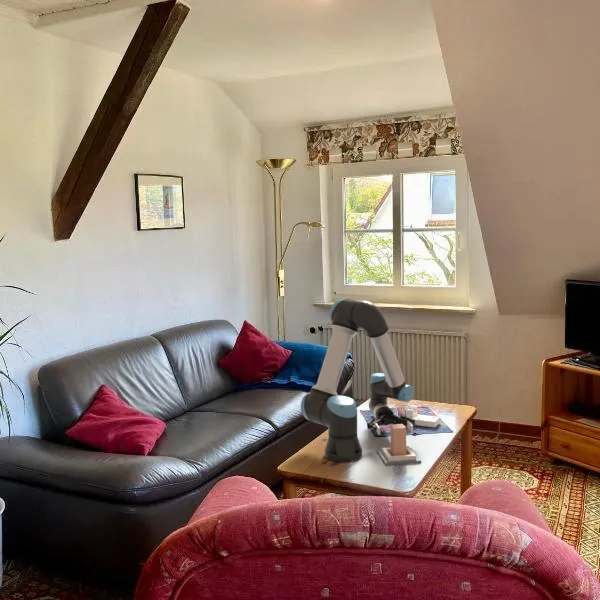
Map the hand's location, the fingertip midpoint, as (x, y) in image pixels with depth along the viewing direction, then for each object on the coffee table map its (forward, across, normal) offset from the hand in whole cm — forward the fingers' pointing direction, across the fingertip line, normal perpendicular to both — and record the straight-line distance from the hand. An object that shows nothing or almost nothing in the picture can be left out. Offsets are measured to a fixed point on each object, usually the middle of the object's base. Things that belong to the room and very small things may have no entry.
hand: (395, 430), depth 270 cm
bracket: (-31, -20, -10) cm, 38 cm away
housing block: (+7, +1, -8) cm, 10 cm away
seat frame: (+7, +1, -9) cm, 11 cm away
